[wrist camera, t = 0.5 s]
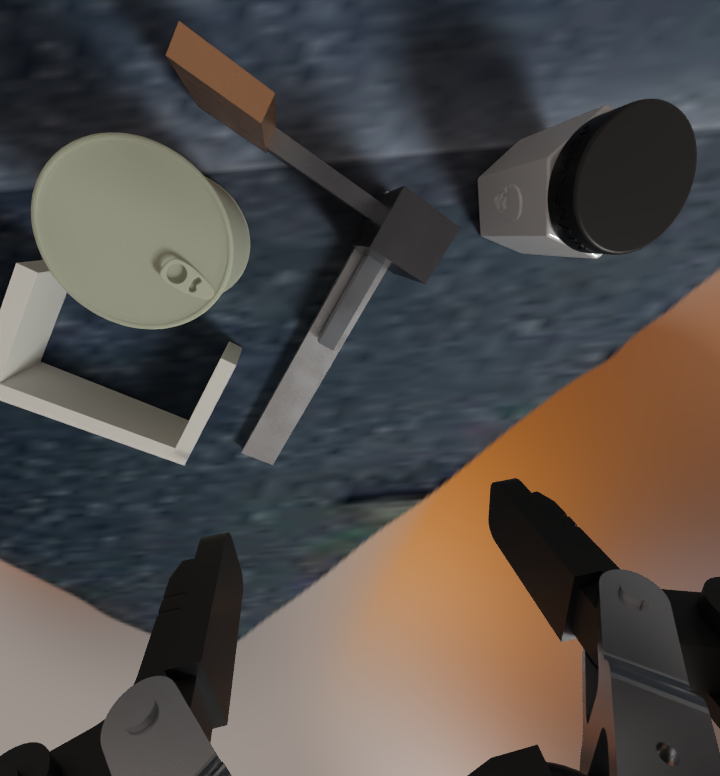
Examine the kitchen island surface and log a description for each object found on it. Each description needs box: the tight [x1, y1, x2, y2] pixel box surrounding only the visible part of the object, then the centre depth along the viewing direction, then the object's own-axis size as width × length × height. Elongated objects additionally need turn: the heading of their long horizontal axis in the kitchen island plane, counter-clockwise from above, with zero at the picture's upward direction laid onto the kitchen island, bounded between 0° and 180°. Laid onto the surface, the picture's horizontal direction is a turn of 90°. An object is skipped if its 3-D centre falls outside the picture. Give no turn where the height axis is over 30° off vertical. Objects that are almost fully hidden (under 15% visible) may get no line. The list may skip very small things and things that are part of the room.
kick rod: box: [166, 21, 460, 350], centre depth 26 cm, size 12×18×8 cm
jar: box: [478, 99, 697, 259], centre depth 28 cm, size 9×8×12 cm
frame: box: [0, 260, 242, 465], centre depth 30 cm, size 10×14×5 cm, turn 58°
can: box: [31, 132, 250, 329], centre depth 24 cm, size 9×9×12 cm
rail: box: [241, 191, 388, 465], centre depth 34 cm, size 26×3×1 cm, turn 148°
